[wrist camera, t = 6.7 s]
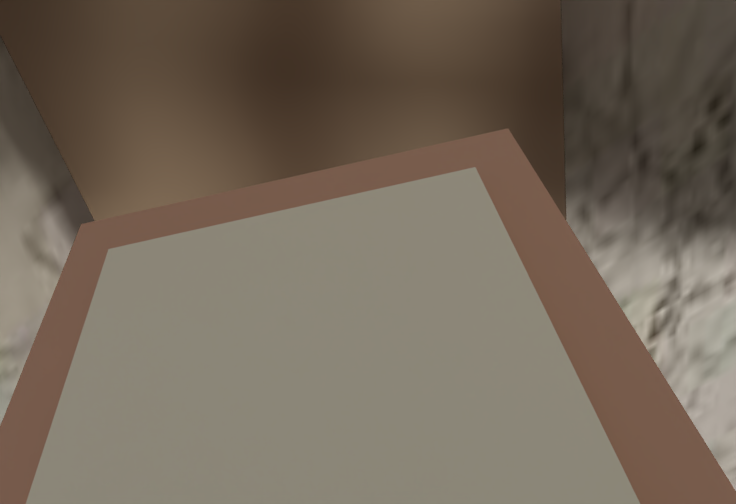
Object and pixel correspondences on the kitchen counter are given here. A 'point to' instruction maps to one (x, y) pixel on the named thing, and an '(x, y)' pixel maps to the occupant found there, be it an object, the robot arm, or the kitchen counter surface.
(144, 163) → the tan banded flat block
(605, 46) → the kitchen counter surface
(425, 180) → the product carton
